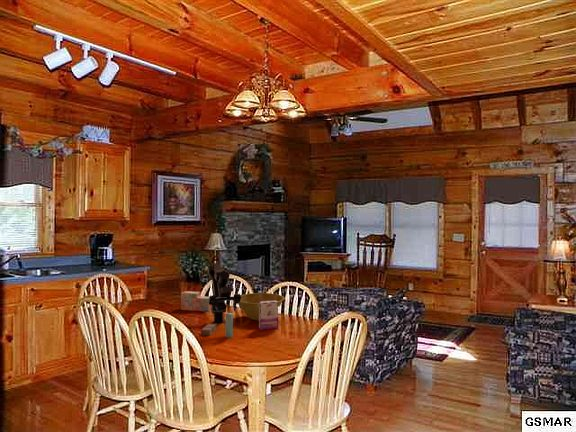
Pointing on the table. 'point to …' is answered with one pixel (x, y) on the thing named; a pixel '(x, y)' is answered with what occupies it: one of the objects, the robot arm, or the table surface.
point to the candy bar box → (268, 315)
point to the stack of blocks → (194, 301)
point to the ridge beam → (208, 329)
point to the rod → (229, 325)
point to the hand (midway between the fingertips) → (226, 311)
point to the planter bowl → (257, 303)
